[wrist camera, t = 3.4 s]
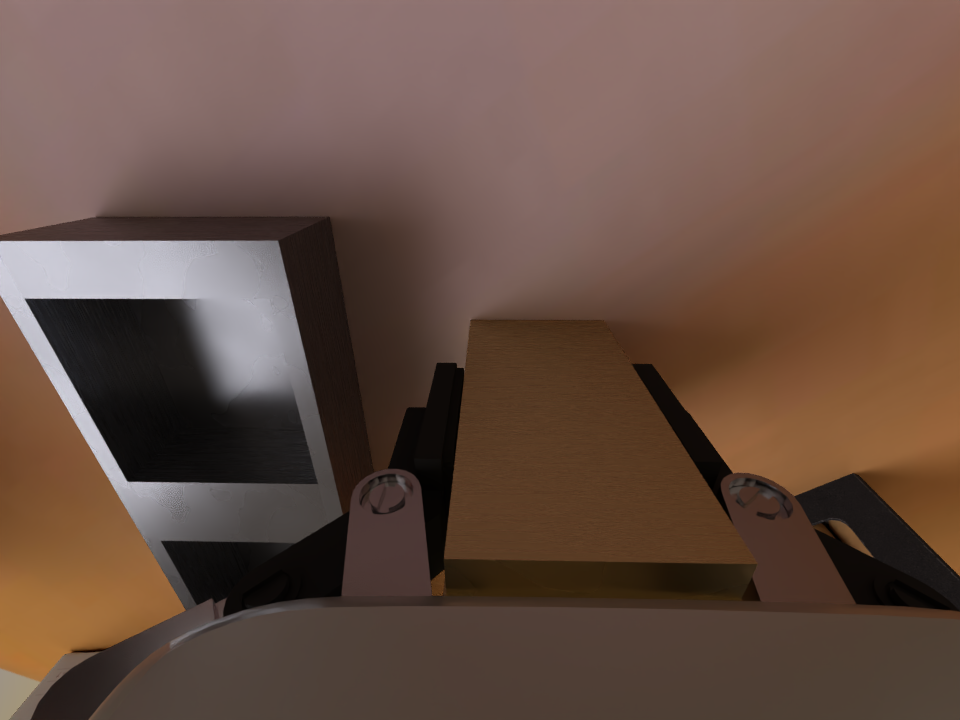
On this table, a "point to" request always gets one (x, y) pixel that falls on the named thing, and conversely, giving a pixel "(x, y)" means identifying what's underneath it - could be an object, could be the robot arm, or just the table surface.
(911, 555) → the ammunition clip
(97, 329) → the grey compartment tray
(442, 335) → the table surface
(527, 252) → the table surface
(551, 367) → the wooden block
